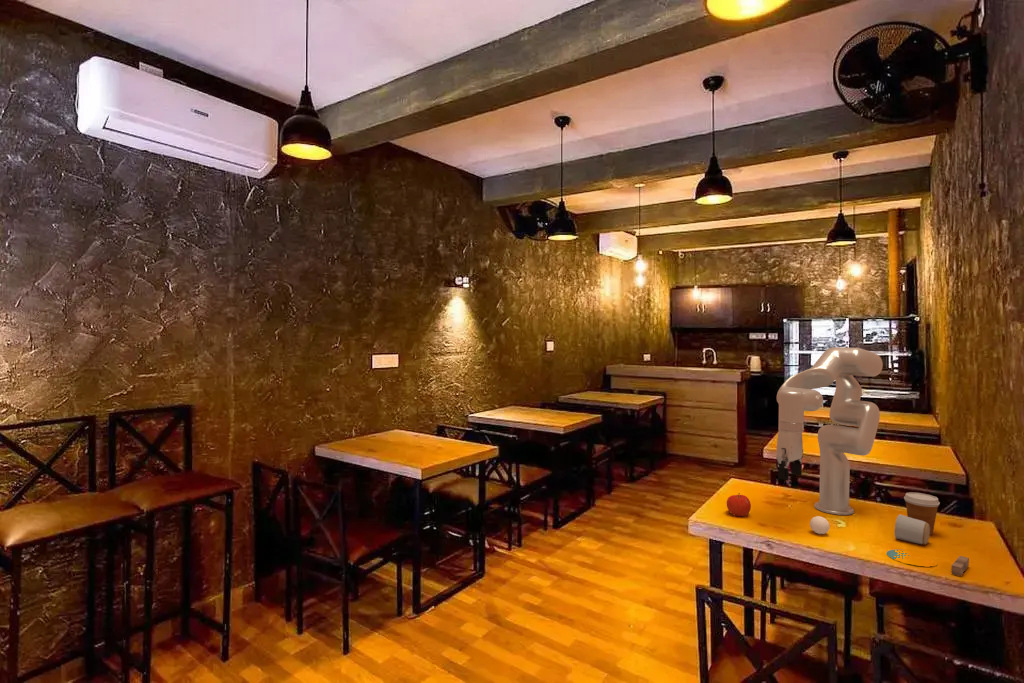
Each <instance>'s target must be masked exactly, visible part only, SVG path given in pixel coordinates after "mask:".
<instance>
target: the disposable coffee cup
mask: <svg viewBox="0 0 1024 683" xmlns="http://www.w3.org/2000/svg"><path fill="white" fill-rule="evenodd" d="M903 499H904V501H905V507H906V516H907V517H910V518H914V519H917V520H921V521H924V522H926V523H928V524H929V526H930V536H933V535H934V530H935V523H936V517H937V513H938V508H939V506H940V503H941V502H940V501H939V498H938V497H937V496H934V495H931V494H929V493H928V494H926V493H921V492H906V493H905V496H903ZM932 534H933V535H932Z"/></svg>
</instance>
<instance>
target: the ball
mask: <svg viewBox="0 0 1024 683" xmlns="http://www.w3.org/2000/svg"><path fill="white" fill-rule="evenodd" d="M809 525H810V526H809V527H810V529H811V530H812V532H814V533H815V534H817V535H825V534H827V533H828V532H829V531H830V523H829V521H828V520H827V519H826V518H825V517H823V516H819V515H816V516H814V517H812V518H811V519H810V521H809Z"/></svg>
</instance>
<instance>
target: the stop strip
mask: <svg viewBox="0 0 1024 683" xmlns="http://www.w3.org/2000/svg"><path fill="white" fill-rule="evenodd" d="M969 562H970V558H969V557H966V556H963V555H959V556H958V557H957V558H956V559H955V561H954V562H953V563H952V564H951V570H950V573H952V574H955V575H954V576H956V575H959V576H961V575H962V574H963V575H964V573H965V572H966V571H967V569H968V568H969V567H968V566H970V563H969ZM967 567H968V568H967ZM966 568H967V569H966ZM965 570H966V571H965ZM964 571H965V572H964ZM963 572H964V573H963ZM952 574H951V575H952ZM963 575H962V576H963ZM959 576H958V577H959ZM962 576H961V577H962Z"/></svg>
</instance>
